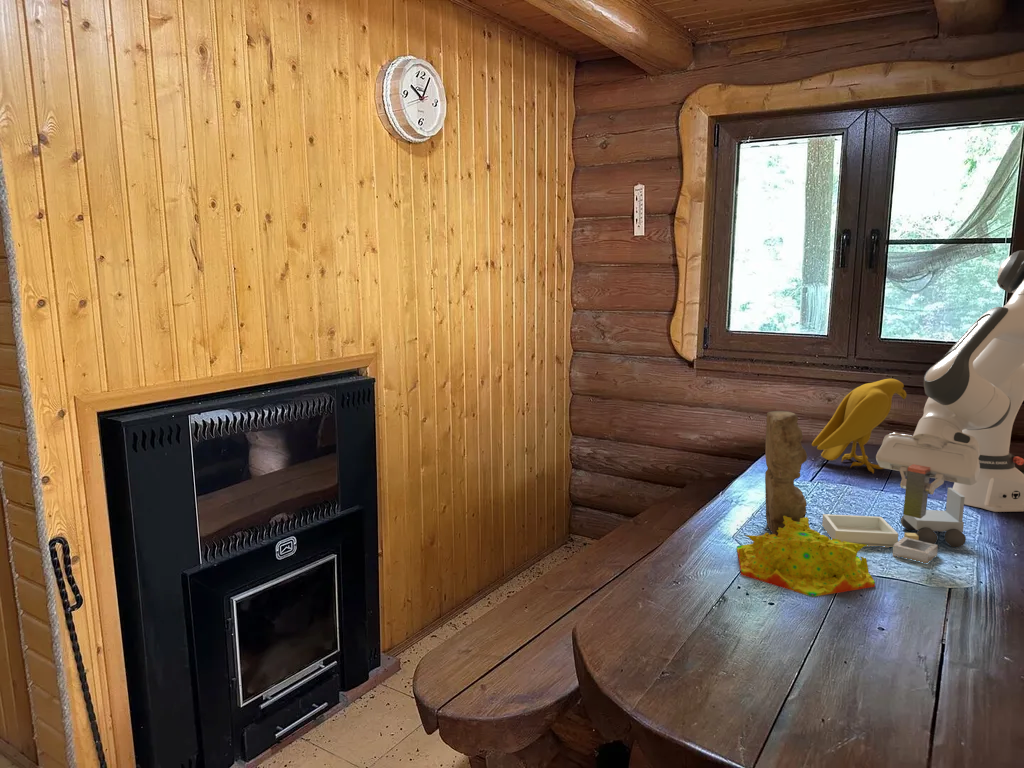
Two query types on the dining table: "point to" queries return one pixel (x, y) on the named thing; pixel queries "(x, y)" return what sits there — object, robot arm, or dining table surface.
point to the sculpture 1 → (783, 469)
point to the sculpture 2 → (858, 420)
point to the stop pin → (916, 491)
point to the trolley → (940, 522)
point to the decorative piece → (804, 561)
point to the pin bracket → (915, 550)
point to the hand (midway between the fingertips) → (916, 490)
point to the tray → (860, 529)
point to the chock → (911, 536)
